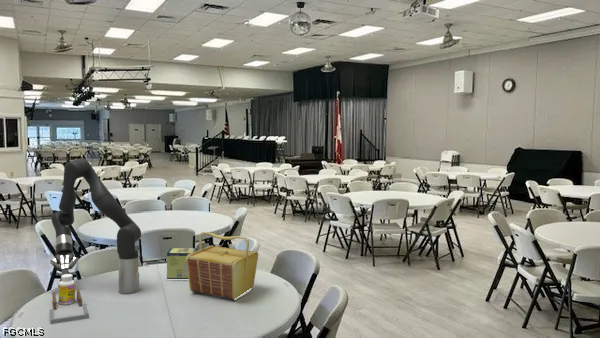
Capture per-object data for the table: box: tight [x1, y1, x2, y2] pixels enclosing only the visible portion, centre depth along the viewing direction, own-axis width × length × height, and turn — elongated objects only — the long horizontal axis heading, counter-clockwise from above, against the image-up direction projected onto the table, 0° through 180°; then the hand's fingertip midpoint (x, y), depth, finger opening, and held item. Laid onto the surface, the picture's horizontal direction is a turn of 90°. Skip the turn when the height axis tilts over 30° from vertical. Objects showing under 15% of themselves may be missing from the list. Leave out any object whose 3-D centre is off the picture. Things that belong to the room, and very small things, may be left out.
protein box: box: [166, 247, 198, 280], centre depth 254 cm, size 10×16×16 cm
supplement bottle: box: [58, 273, 76, 306], centre depth 212 cm, size 7×7×13 cm
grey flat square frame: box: [49, 304, 90, 325], centre depth 198 cm, size 14×13×2 cm
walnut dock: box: [52, 289, 83, 311], centre depth 212 cm, size 11×13×4 cm
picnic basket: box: [186, 231, 259, 300], centre depth 233 cm, size 29×26×30 cm
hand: (65, 276), depth 222 cm, fingers closed
